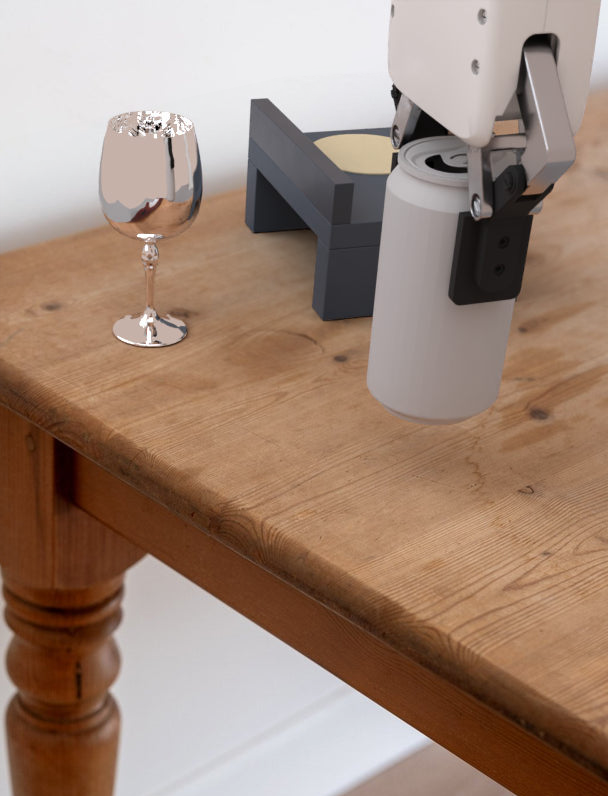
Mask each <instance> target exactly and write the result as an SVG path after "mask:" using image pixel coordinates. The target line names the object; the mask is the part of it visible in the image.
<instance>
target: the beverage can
mask: <svg viewBox="0 0 608 796" xmlns="http://www.w3.org/2000/svg"><path fill="white" fill-rule="evenodd" d="M428 161H434V166H433V169H432V168H430V167H428V166H427V165H426V162H428ZM398 163H399V164H398V165H397V166H396V167H395V169H394V170H393V171H392V172H391V174H390V175H389V177H388V179H387V183H386V193H385V203H384V213H383V222H382V232H381V242H380V252H379V262H378V272H377V281H376V291H375V301H374V311H373V316H372V322H371V331H370V341H369V350H368V351H369V352H368V361H367V370H366V386H367V389H368V391H369V393H370V394H371V396H372V398H374V399H375V400H376V401H377V402H378V403H379V404H381V406H382V407H383V408H384V409H385V411H387V412H388V413H389V414H390V415H392V416H394V417H396V418H398V419H400V420H403V421H406V422H409V423H412V424H418V425H423V426H449V425H450V426H451V425H455V424H460V423H464V422H466V421H467V420H471V419H472V418H473V417H475V416H478V415H481V414H483V413H484V412H486V411H487V410H489V409H490V408H491V407H492V406H493V405H494V404H495V403H496V401H497V399H498V398H499V395H500V389H501V384H502V377H503V372H504V366H505V360H506V355H507V350H508V344H509V337H510V333H511V332H510V331H511V327H512V320H513V315H514V309H515V303H516V301H515V298H514V299H511V300H503V301H494V302H486V303H478V304H470V305H461V306H458V305H455V304H454V303H453V302H452V301H451V299H450V298H449V297H448V290H449V283H450V275H451V268H452V261H453V253H454V246H455V239H456V231H457V224H458V217H459V212H466V211H470V208H469V188H468V168H467V147H466V143H465V142H464V141H462V140H461V139H460V138H458V137H457V136H436V137H428V138H423V139H418V140H415V141H412V142H410V143H407V144H406V145H404V146H403V147H402V148H401V149H400V150H399V153H398ZM509 165H517V163H516V151H508V152H497V153H492V170H493V182H494V181H495V179H496V178H497V177H498V176H499V175H500V174H501V173H502V172H503V171H504V170H505V169H506V168H507V167H508V166H509Z"/></svg>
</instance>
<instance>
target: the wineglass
mask: <svg viewBox="0 0 608 796" xmlns="http://www.w3.org/2000/svg"><path fill="white" fill-rule="evenodd" d="M199 146H200V145H199V140H198V136H197V133H196V130H195V125H194V122H193V121H192V120H191V119H190V118H189V117H186V116H183V115H180V114H177V113H173V112H167V111H161V110H136V111H129V112H123V113H120V114H118V115H115V116H112V117H111V118H110V119H109V120H108V121H107V124H106V128H105V133H104V137H103V142H102V146H101V152H100V157H99V158H100V159H99V165H98V175H97V176H98V179H97V182H98V183H97V186H98V189H97V190H98V198H99V203H100V208H101V211H102V214H103V217H105V219H106V221H107V222H108V224H109V225H110V226H111V227H112V228H113V230H115V231H117V232H118V233H119V234H121V235H122V236H124V237H127V238H129V239H132V240H135V241H139V242H144V243H145V244H144V245H143V247H142V250H141V257H140V258H141V262H142V267H143V270H144V275H145V284H146V285H145V286H146V289H145V291H146V292H145V307H144V310H143V312H141V311H140V312H135V313H131V314H127V315H125V316H122V317H120V318H119V319H117V320H116V321H114V323H113V324H112V328H111V331H112V334H113V335H114V337H115V338H117V339H118V340H119V341H121V342H122V343H125V344H128V345H131V346H136V347H143V348H158V347H166V346H170V345H173V344H176V343H178V342H180V341H182V340H183V339H185V337H186V336H187V334H188V326H187V325H186V323H185V322H184V321H183V320H182V319H180V318H178V317H177V316H174V315H171V314H168V313H163V312H157V310H156V306H155V278H156V273H157V267H158V265H159V260H160V253H159V249H158V246H157V245H156V243H158V242H164V241H169V240H171V239H173V238H175V237H178V236H180V235H182V234H183V233H185V232H186V231H187V230H188V229H190V227H191V226H192V225H193V224H194V222H195V221H196V219H197V217H198V215H199V213H200V209H201V205H202V201H203V200H202V199H203V192H204V191H203V190H204V175H203V174H204V173H203V166H202V165H203V164H202V159H201V153H200V147H199Z"/></svg>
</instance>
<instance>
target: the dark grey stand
mask: <svg viewBox="0 0 608 796" xmlns="http://www.w3.org/2000/svg"><path fill="white" fill-rule="evenodd" d="M249 105H250V107H249V124H248V125H249V129H248V150H247V168H246V169H247V171H246V188H245V189H246V190H245V208H244V209H245V211H244V223H245V225H246V226H247V227H248V228H249V230H250V231H251V232H252V233H253V234H255V233H267V232H277V231H278V232H280V231H291V230H305V229H310V230H311V231H312V232H313V233H314V234H315V236H317V243H316V255H315V267H314V278H313V291H312V300H311V301H312V302H311V308H312V309H313V310H314V312H315V313H316V314H317V315H318V317H319V318H320V319H321V320H322V321H332V320H342V319H352V318H362V317H363V318H364V317H373V311H374V301H375V291H376V281H377V272H378V262H379V252H380V242H381V232H382V222H383V213H384V203H385V193H386V183H387V179H388V177H389V175H390V173H391V163H392V153H394V152H399V150H400V149H399V150H395V149H394V148H393V147H392V144H391V136H390V134H391V127H392V126H388V127H371V128H356V129H355V128H354V129H340V130H339V129H337V130H323V131H306V132H303V131H302V130H301V129H300V128H299V127H298V126H297V125H296V124H295V123H294V122H293V121H292V120H291V119H290V118H288V116H286V114H285V113H284V112H283V111H281V110H280V109H279V108H278V106H276V105H275V104H274V103H273V102H272V101H271V100H270V98H267V97H266V98H265V97H263V98H262V97H261V98H251V99H250V104H249ZM517 299H518V296H517V297H516V298H515V302H517Z"/></svg>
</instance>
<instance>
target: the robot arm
mask: <svg viewBox="0 0 608 796" xmlns="http://www.w3.org/2000/svg"><path fill="white" fill-rule="evenodd" d="M601 6H602V0H391V2H390V11H389V25H388V36H387V37H388V39H387V41H388V42H387V71H388V74H389V78H390V80H391V82H392V85H391V90H390V96H391V98H392V99H393V104H394V109H395V114H394V118H393V121H392V124H391V126H390V127H391V134H390V136H391V144H392V147H393V148H394V149H395V150H399V149H401V148H402V147H403V146H404V145H406V144H407V143H410V142H412V141H415V140H418V139H423V138H428V137H436V136H457V137H458V138H460V139H461V140H462V141H464V142H465V143H466V147H467V168H468V188H469V208H470V211H466V212H459V217H458V224H457V231H456V239H455V246H454V253H453V261H452V268H451V275H450V283H449V290H448V297H449V298H450V299H451V301H452V302H453V303H454V304H455V305H458V306H461V305H470V304H478V303H486V302H494V301H503V300H511V299H514V298H516V297H517V298H518V296H519V295H520V293H521V290H522V285H523V280H524V274H525V267H526V262H527V255H528V250H529V245H530V240H531V239H530V238H531V232H532V229H533V222H534V216H537V215H539V214H540V213H541V212H542V210H543V206H544V200H545V198H546V197H548V196H549V195H550V193H551V192H552V191H553V189H554V186H555V184H556V183H557V182H558V181H559V179H560V178H561V177H562V176H564V174H565V173H567V171H568V170H569V169H570V168H571V167H572V166H573V165H574V163H575V161H576V158H577V146H576V142H575V136H576V135H577V134H578V133H579V131H580V130H581V126H582V124H583V120H584V116H585V112H586V106H587V103H588V101H587V100H588V95H589V90H590V83H591V77H592V70H593V63H594V57H595V50H596V43H597V37H598V36H597V35H598V28H599V21H600V12H601ZM505 121H517V124H518V125H517V126H518V128H517V129H518V132H517V133H508V134H496V133H495V132H494V128H495V122H505ZM508 151H516V163H517V165H509V166H508V167H507V168H506V169H505V170H504V171H503V172H502V173H501V174H500V175H499V176H498V177H497V178H496V179H495V181H494V182H493V170H492V153H497V152H508ZM398 153H399V152H394V153H392V163H391V172H392V171H393V170H394V169H395V167H396V166H397V165H398V164H399V163H398ZM426 165H427V166H428V167H430V168H432V169H433V166H434V161H428V162H426ZM390 174H391V173H390Z"/></svg>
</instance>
